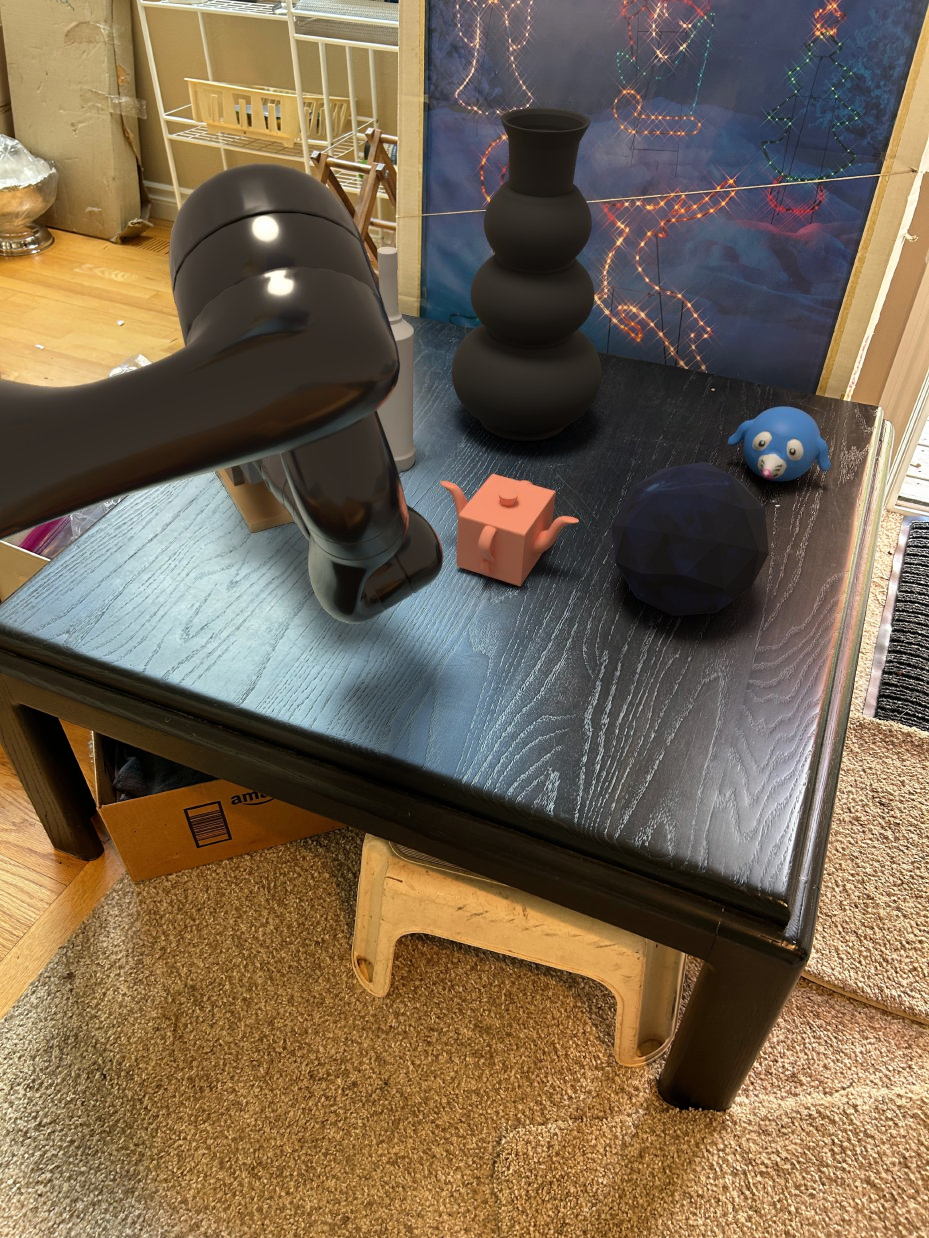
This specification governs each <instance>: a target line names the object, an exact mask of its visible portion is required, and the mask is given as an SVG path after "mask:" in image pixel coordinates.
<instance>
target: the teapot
mask: <svg viewBox="0 0 929 1238" xmlns="http://www.w3.org/2000/svg"><path fill="white" fill-rule="evenodd" d="M440 485H441V486H442V487H443V488H445V489H446V490H447V491H448V492H449V493H450V495H451V497H452V499H453V502H454V507H455V512H456V517H457V529H456V531H457V533H456V535H457V536H456V537H457V538H456V567H458V568H461V569H465V570H467V571H470V572H474V573H477V574H480V575H484V576H486V577H490V578H493V579H495V580H498V581H503V582H504V583H505V582H506V583H509V584H511V585H515V586H518V587H521V586H522V585H523V583H524V581H525V580H526V579H527V577H528V575H529V574H530V572H531V571H532V570H533V568H534V567H535V565H536V563H537V562H538V561H539V560H540V558H541V556H542V555H543V553H544V552H546V551H548V549H550V548H551V547H552V546H553V545H554V543H555V542H556V540H557V538H558V536H559V534H560V533H561V531H562V530H563V528H564V527H566V526H568V525H572V524H577V523H579V522H580V521H579V519H578V518H576V517H575V516H574V517H573V516H569V515H562V516H558V517H557V518H555V519H554V512H555V501H556V495H557V492H556V490H553V489H549V488H545V487H542V486H538V485H534V484H533V483H532V482H531V481H529V480H527V479H522V480H518V479H514V478H510V477H507V476H503V475H499V474H495V473H492V474H490V476H489V477H488V478H487V479H486V480H485V482H484V483H483V484H482V485H481V487H480V488H478V490H477V491H476V492H475V494H474V495H473V496H472V497H471V498H470V500H469V501H468V499H467V498H466V496H465V493H464V491H463V490H462V489H461V488H460V487H459V486H458V485H457V484H455V483H454V482H451V481H448V480H441V481H440ZM553 519H554V520H553Z"/></svg>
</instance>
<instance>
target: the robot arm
mask: <svg viewBox="0 0 929 1238" xmlns="http://www.w3.org/2000/svg"><path fill="white" fill-rule="evenodd" d="M168 266H169V267H168V268H169V278H170V287H171V288H170V289H171V292H172V297H173V301H174V305H175V308H176V313H177V317H178V322H179V327H180V330H181V335H182V340H183V344H184V347H182V348H180V349H179V350H177V351H175V352H173V353H172V354H170V355H168V356H165V357H162V359H159V360H157V361H153V362H152V363H149V364H146V365H143V366H140V367H138V368H135V369H133V370H129V371H125V372H122V373H119V374H116V375H113V376H112V375H111V376H109V377H106V378H103V379H100V380H96V381H93V382H89V383H88V382H87V383H83V384H76V385H68V386H67V385H66V386H65V385H64V386H53V385H52V386H50V385H49V386H48V385H38V384H34V383H33V384H31V383H27V382H21V381H15V380H10V379H5V378H1V377H0V541H3V540H5V539H7V538H11V537H13V536H15V535H18V534H21V533H23V532H26V531H28V530H32V529H34V528H37V527H40V526H42V525H43V526H44V525H45V524H48V523H51V522H53V521H57V520H59V519H63V518H65V517H68V516H70V515H71V516H72V515H73V514H76V513H79V512H82V511H85V510H88V509H90V508H93V507H96V506H99V505H103V504H106V503H109V502H112V501H114V500H118V499H122V498H124V497H127V496H130V495H133V494H136V493H141V492H143V491H147V490H151V489H154V488H158V487H162V486H166V485H168V484H173V483H176V482H180V481H184V480H187V479H191V478H194V477H199V476H202V475H207V474H211V473H214V472H215V471H218V470H222V469H225V468H229V467H233V466H237V465H240V464H244V463H248V462H252V463H253V464H254V466H255V467H256V469H257V470H258V472H259V473H260V475H261V476H262V478H263V479H264V481H265V484H266V486H267V488H268V489H269V491H271V492H272V493H273V495H274V496H275V498H276V499H277V500H278V501H279V502H280V504H281V505H282V506H283V507H284V508H286V509H287V511H288V512H289V514H290V515H291V517H292V518H293V520H294V521H293V522H294V523H295V525H296V526H297V528H298V529H299V530H300V532H301V533H302V535H303V536H304V537H305V539H306V540H307V541H308V542H309V543H308V551H307V569H308V575H309V581H310V585H311V587H312V590H313V593H314V595H315V597H316V599H317V600H318V602H319V604H320V606H321V607H322V608H323V610H325V612H327V613H328V614H329V616H331V617H332V618H333V619H335V620H337V621H339V622H342V623H343V624H350V625H358V624H363V623H366V622H369V621H371V620H373V619H375V618H377V617H378V616H380V615H381V614H383V613H385V612H387V611H388V610H389V609H391V608H393V607H394V606H397V604H399V603H401V602H402V601H404V600H406V599H408V598H410V597H412V596H413V595H414V594H416V593H418V592H419V591H421V590H423V589H424V588H426V587H428V586H429V585H431V584H432V583H433V582H434V581H435V580H436V579H437V578H438V576H439V575H440V573H441V571H442V568H443V563H444V549H443V545H442V542H441V539H440V537H439V535H438V534H437V531H436V530H435V529H434V528H433V526H432V524H430V521H428V520H427V519H426V518H425V517H424V516H423V515H422V514H420V512H418V511H417V510H416V509H414V508H413V507H411V506H410V505H408V504H407V500H406V496H405V492H404V487H403V483H402V480H401V475H400V472H398V469H397V466H396V463H395V460H394V457H393V454H392V451H391V448H390V446H389V443H388V440H387V438H386V435H385V432H384V429H383V426H382V423H381V421H380V418H379V415H378V412H377V410H378V409H379V408H380V407H381V406H382V405H383V403H384V402H385V401H386V400H387V399H388V398H389V396H390V395H391V393H392V391H393V390H394V388H395V386H396V384H397V382H398V377H399V372H400V360H399V354H398V348H397V344H396V340H395V337H394V334H393V331H392V328H391V325H390V322H389V318H388V315H387V312H386V310H385V306H384V303H383V300H382V296H381V293H380V290H379V283H378V281H377V278H376V276H375V272H374V269H373V265H372V263H371V259H370V256H369V254H368V251H367V248H366V246H365V242H364V239H363V237H362V234H361V231H360V230H359V228H358V225H357V224H356V221H355V220H354V218H353V217H352V215H351V213H350V212H349V211H348V209H347V208H346V206H345V204H344V202H342V200H340V198H339V197H338V196H337V195H336V194H335V193H334V192H333V191H332V190H331V189H330V188H329V187H328V186H327V185H326V184H325V183H323V182H321V181H320V180H318V179H317V178H316V177H314V176H313V175H311V174H309V173H307V172H305V171H302V170H300V169H298V168H295V167H292V166H289V165H283V164H278V163H259V162H257V163H249V164H244V165H238V166H233V167H229V168H227V169H224V170H222V171H220V172H217V173H216V174H214V175H212V176H211V177H209V178H208V179H206V180H204V181H203V182H201V183H200V184H199V185H198V186H197V187H196V188H195V189H194V190H193V191H192V192H190V194H189V195H187V197H186V199H185V200H184V202H183V203H182V205H181V206H180V208H179V209H178V211H177V214H176V216H175V219H174V222H173V225H172V227H171V230H170V239H169V245H168Z"/></svg>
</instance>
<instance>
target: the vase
mask: <svg viewBox="0 0 929 1238" xmlns="http://www.w3.org/2000/svg"><path fill="white" fill-rule="evenodd" d="M499 120H500V123H501V125H502V127H503V129H504V131H505V133H506V136H507V142H508V180H506V181H505V182H503V184H501V186H500V187H499V188H498V189H497V191H496V192H495V193H494V195H493V196H492V197H491V199H490V200H489V202H488V204H487V206H486V208H485V211H484V216H483V229H484V230H483V231H484V235H485V238H486V240H487V243H488V245H489V246H490V248H491V250H492V252H494V254H493V255H491V256H490V257H489V258H487V260H486V261H484V262H483V263H482V264H481V266H480V267H479V268H478V270H476V273H475V275H474V277H473V278H472V281H471V286H470V294H469V295H470V303H471V307H472V309H473V311H474V314H475V315H476V317H477V319H478V320H479V322H480V324H479V325H477V326H475V327H474V328H472V330H470V332H468V333H467V334H466V335H465V336H464V337H463V339H462V340H461V342H460V343H459V344H458V347H457V348H456V350H455V353H454V356H453V359H452V364H451V378H452V379H451V380H452V381H451V382H452V386H453V389H454V392H455V394H456V396H457V398H458V400H459V402H460V404H461V405H462V406H463V408H464V409H465V410H466V411H467V412H469V414H471V416H473V417H474V418H475V419H477V420H478V421H479V422H480V424H481V425H482V427H483V428H484V429H486V431H488V432H489V433H491V434H492V435H494V436H497V437H499V438H503V439H506V440H510V441H515V442H537V441H544V440H547V439H551V438H553V437H556V436H557V435H558V434H560V433H562V432H563V430H565V428H566V426H568V425H570V424H573V423H575V422H576V421H577V420H579V419H580V418H581V417H582V416H583V415H584V414H585V413H587V411H589V409H590V408H591V406H592V405H593V403H594V402H595V400H596V398H597V397H598V395H599V392H600V388H601V384H602V375H603V374H602V372H603V371H602V364H601V363H602V362H601V359H600V356H599V353H598V351H597V349H596V348H595V346H594V344H593V343H592V341H591V340H590V339H589V337H588V336H587V335H586V334H585V333H584V332H582V331H581V330H580V328H581V327H582V326H583V325H584V323H585V322H586V321H587V320H588V318H589V317H590V315H591V312H592V310H593V309H594V304H595V298H596V297H595V295H596V293H595V286H594V282H593V280H592V277H591V275H590V273H589V272H588V269H586V267H584V265H583V264H582V263H581V262H580V261H579V260H578V259H577V257H578V256H579V255H580V253H581V252H582V251H583V250H584V248H585V247H586V245H587V243H588V241H589V239H590V237H591V233H592V230H593V229H592V228H593V227H592V226H593V220H592V219H593V217H592V212H591V208H590V206H589V203H588V202H587V200H586V198H585V196H584V195H583V194H582V192H581V190H580V188H579V187H578V186H577V185H576V184H574V182H575V181H574V180H575V174H576V173H575V172H576V165H577V160H578V158H577V157H578V153H579V149H580V143H581V140H582V139H583V137H584V136H585V134H586V132H587V130H588V128H589V127H590V126H591V124H592V123H591V119H590V118H589V117H588V116H586V115H584V114H581V113H579V112H575V111H572V110H567V109H561V108H552V107H551V108H550V107H526V108H525V107H524V108H518V109H513V110H508V111H506V112H504V113H502V114H501V115H500V119H499Z"/></svg>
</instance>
